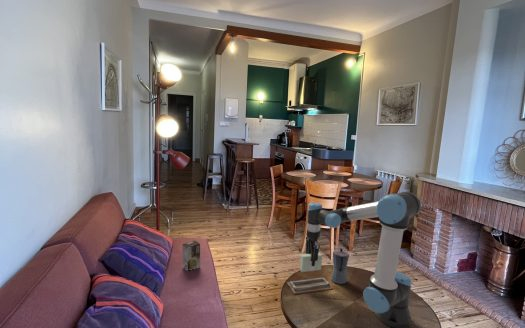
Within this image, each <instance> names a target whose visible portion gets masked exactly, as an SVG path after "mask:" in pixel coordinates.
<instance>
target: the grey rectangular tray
mask: <svg viewBox="0 0 525 328" xmlns="http://www.w3.org/2000/svg"><path fill="white" fill-rule="evenodd" d="M286 285H287V286H288V288H290V290H291V291H292V293H293V294H294V295H298V294H306V293H316V292H322V291H330V290H334V287H333V286H332V285H331V283H329V281H328V280H327V279H326V278H325V277H315V278H308V279H300V280H299V279H298V280H291V281H286Z"/></svg>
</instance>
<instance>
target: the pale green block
mask: <svg viewBox="0 0 525 328" xmlns="http://www.w3.org/2000/svg"><path fill="white" fill-rule="evenodd" d="M310 259H311V254H306V253H304V254H303V253H302V254H300V259H299V260H300V261H299V271H301V272H302V273H305V272H311V271H310ZM322 260H323V255H322V254H321V252H319V253H318V260H317V261H315V269H314V271H321V270H322V262H323V261H322ZM314 271H313V272H314Z"/></svg>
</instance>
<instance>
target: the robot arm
mask: <svg viewBox="0 0 525 328" xmlns="http://www.w3.org/2000/svg"><path fill="white" fill-rule="evenodd" d="M421 203H422V202H421V199H419V197H418V196H417V195H416V194H414V193H413V192H410V191H401V192H398V193H397V192H396V193H389V194H387V195H385V196H383V197H381V198H380V199H379V201H372V202H368V203H362V204H357V205H352V206H347V207H346V206H345V207H342V208H338V209H334V210H333V209H332V210H326V209H324V208H323V205H322V204H321V203H320V202H311V203H309V204H308V209H307V221H306V234H305V235H306V236H305V254H311V259H310V271H309V272H314V269H315V261H317V260H318V253H320V248H321V247H320V244H318V239H320V237H321V224H322V225H325V226H327V227H329V228H333V229H336V228H338V227H340V225H341V223H342V224H343V223H346V222H351V221H352V222H353V221H358V220H364V219H365V220H366V219H372V218H373V219H374V218H379V220H378V223H379V225H381V232H380V238H379V245H378V249H377V256H376V263H375V268H374V274H372V275H370V278H369V283H368V286H367V287H365V288H364V289H363V292H362V295H363V296H362V297H363V300H364V303H365V304H366V305H367V307H368V308H369V309H370V310H371V311H373V312H374V313H376V316H377V318H378V320H380V322H382V323H383V324H385V325H386V326H388V327H391V328H410V326H411V324H412V318H411V314H410V309H409V306H410V305H409V303H410V296H411V289H412V279H411V278H410V277H409V276H408V275H407V274H405V273H403V272H400V271H397V270H398V263H399V259H400V254H401V253H400V252H401V246H402V243H403V242H402V241H403V235H404V232H405V231H406V230H407V229H408V228H409V224H410V219H411V218H414V217H415V216H417V215H418V214H419V213H420V211H421V207H422V204H421Z"/></svg>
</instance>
